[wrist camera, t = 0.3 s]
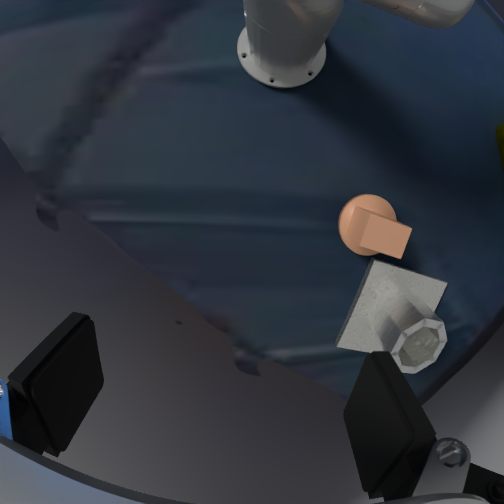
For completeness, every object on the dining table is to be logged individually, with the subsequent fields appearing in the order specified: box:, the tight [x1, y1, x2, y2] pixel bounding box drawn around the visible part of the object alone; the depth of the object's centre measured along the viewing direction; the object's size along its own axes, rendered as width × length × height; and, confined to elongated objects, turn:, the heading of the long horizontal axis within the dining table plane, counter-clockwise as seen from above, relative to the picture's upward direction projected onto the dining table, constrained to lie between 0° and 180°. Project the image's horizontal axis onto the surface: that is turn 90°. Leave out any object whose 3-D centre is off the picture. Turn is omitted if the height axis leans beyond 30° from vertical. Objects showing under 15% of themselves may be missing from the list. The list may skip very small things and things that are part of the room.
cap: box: [338, 194, 412, 259], centre depth 38 cm, size 8×8×10 cm
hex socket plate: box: [335, 257, 447, 374], centre depth 42 cm, size 16×16×12 cm
